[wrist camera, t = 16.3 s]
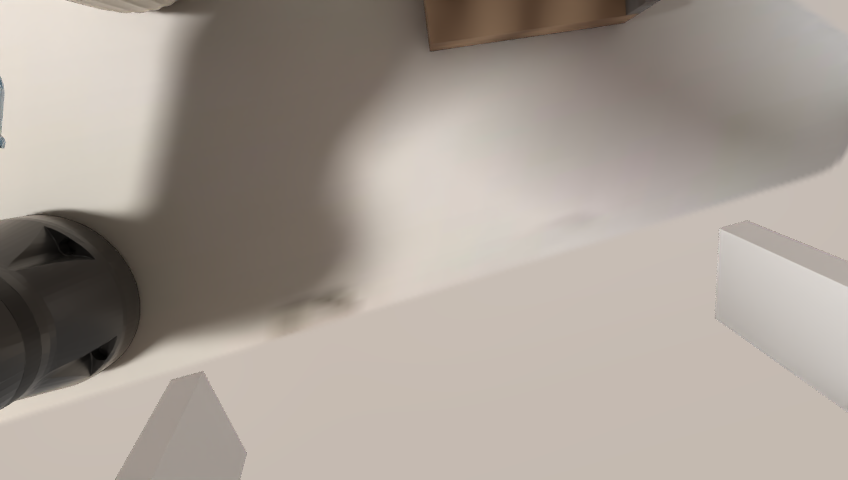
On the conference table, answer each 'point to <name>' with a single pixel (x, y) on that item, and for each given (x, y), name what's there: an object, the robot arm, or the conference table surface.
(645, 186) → the conference table surface
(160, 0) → the canister
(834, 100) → the conference table surface
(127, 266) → the robot arm
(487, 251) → the conference table surface
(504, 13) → the shelf board
